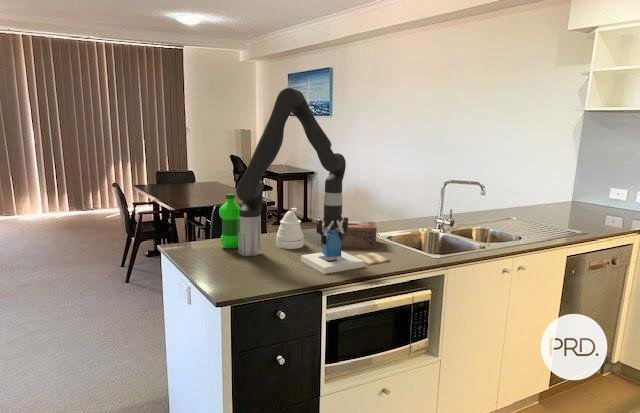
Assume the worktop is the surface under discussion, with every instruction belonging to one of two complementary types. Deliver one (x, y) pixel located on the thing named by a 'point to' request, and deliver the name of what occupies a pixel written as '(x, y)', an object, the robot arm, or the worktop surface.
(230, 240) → the plastic bottle
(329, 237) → the perfume bottle
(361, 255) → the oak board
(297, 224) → the honey pot
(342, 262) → the socket block
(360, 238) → the tissue box cover
